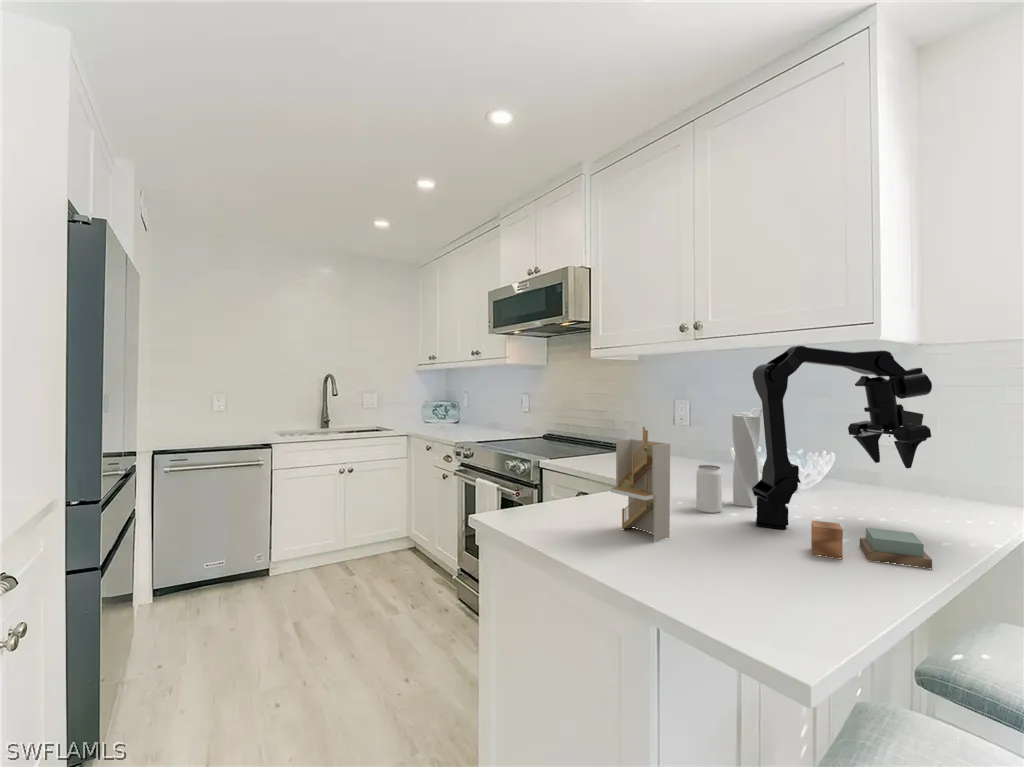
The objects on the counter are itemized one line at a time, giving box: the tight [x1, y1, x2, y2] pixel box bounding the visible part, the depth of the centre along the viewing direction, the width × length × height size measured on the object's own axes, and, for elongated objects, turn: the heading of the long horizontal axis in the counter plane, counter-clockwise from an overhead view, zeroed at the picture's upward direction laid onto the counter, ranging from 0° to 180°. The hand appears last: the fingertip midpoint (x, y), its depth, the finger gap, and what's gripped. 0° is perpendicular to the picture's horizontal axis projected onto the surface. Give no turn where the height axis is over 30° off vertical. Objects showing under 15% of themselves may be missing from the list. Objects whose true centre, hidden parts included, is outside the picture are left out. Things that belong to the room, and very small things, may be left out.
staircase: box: [610, 426, 671, 542], centre depth 117 cm, size 8×12×26 cm
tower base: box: [859, 537, 933, 570], centre depth 103 cm, size 10×10×2 cm
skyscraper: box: [731, 406, 763, 509], centre depth 146 cm, size 8×8×28 cm
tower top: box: [865, 527, 925, 557], centre depth 103 cm, size 8×8×2 cm
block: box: [810, 520, 844, 560], centre depth 105 cm, size 5×5×6 cm
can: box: [695, 464, 723, 514], centre depth 139 cm, size 6×6×12 cm
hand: (892, 465), depth 124 cm, fingers open, 9 cm apart
